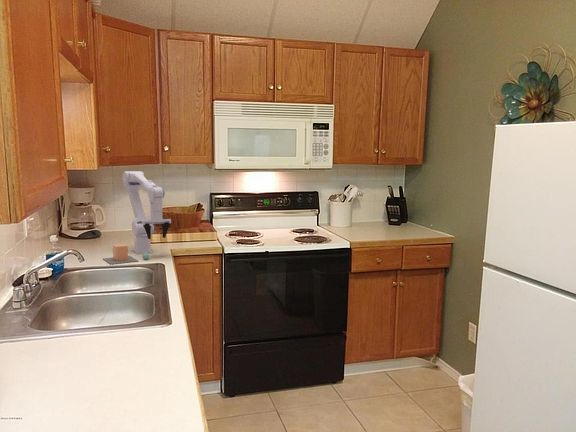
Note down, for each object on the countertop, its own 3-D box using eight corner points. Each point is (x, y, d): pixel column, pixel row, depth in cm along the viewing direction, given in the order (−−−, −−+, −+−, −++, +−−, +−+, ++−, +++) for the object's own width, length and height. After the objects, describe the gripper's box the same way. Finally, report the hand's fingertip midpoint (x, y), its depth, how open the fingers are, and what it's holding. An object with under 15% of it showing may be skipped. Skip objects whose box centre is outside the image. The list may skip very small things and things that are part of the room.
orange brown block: (113, 259, 219) (112, 244, 218) (124, 257, 222) (124, 243, 221) (116, 261, 215) (116, 246, 214) (128, 260, 218) (127, 245, 217)
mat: (102, 259, 220) (102, 258, 220) (129, 256, 228) (129, 255, 228) (110, 264, 210) (110, 263, 209) (138, 261, 217) (138, 260, 217)
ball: (141, 259, 222) (141, 252, 222) (148, 258, 224) (147, 252, 224) (143, 260, 220) (143, 254, 219) (150, 259, 222) (150, 253, 221)
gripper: (144, 212, 219) (145, 240, 221) (173, 211, 228) (173, 238, 229) (139, 211, 225) (140, 238, 226) (168, 209, 233) (168, 236, 235)
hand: (156, 238), depth 228 cm, fingers open, 7 cm apart
